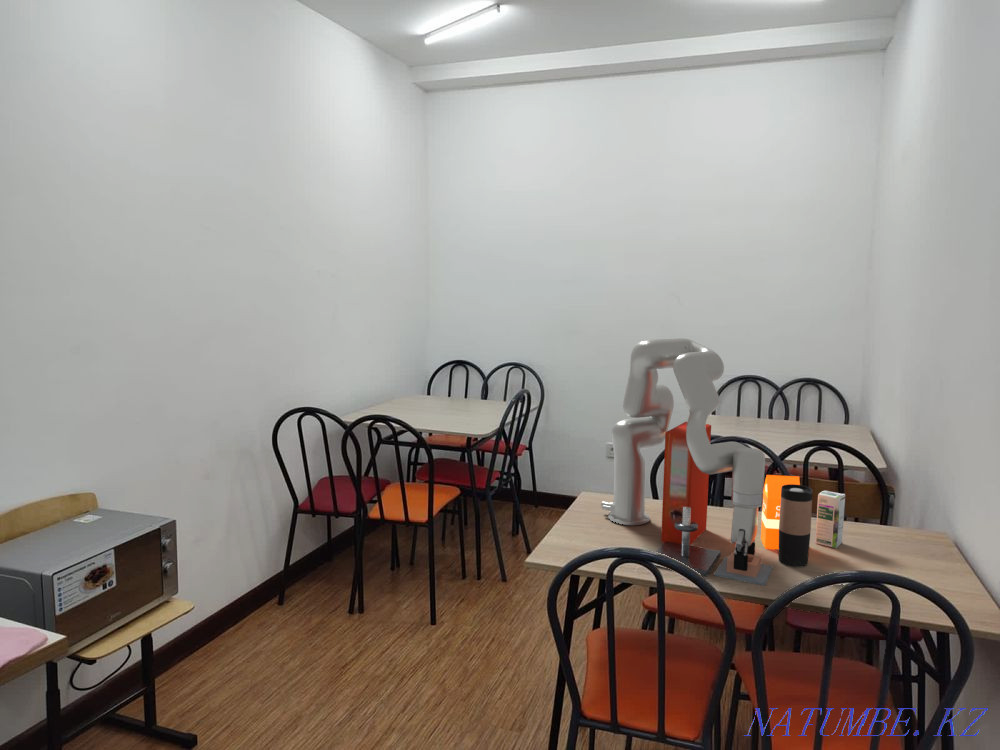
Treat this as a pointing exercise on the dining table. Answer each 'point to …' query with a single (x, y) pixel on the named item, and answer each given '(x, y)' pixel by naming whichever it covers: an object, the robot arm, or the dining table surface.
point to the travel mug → (795, 525)
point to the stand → (690, 548)
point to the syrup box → (830, 519)
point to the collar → (752, 567)
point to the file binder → (682, 486)
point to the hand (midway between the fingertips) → (744, 562)
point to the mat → (759, 579)
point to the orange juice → (773, 508)
